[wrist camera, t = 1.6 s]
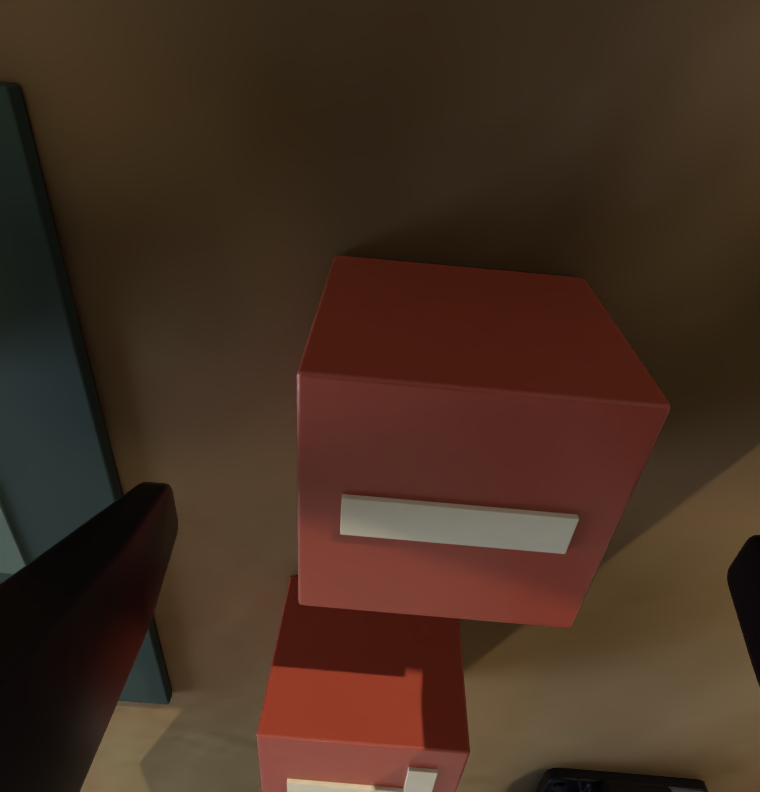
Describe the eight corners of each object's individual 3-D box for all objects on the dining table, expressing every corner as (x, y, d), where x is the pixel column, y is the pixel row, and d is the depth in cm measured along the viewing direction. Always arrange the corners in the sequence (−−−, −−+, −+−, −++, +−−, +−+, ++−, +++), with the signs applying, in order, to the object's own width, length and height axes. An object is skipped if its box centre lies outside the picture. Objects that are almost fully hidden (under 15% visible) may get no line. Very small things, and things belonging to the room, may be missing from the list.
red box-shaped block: (527, 466, 14) (573, 635, 10) (328, 448, 14) (296, 611, 10) (584, 276, 11) (677, 410, 7) (334, 253, 11) (294, 376, 7)
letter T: (434, 679, 19) (440, 840, 16) (292, 667, 19) (263, 825, 16) (456, 589, 17) (471, 758, 13) (290, 574, 17) (254, 740, 13)
